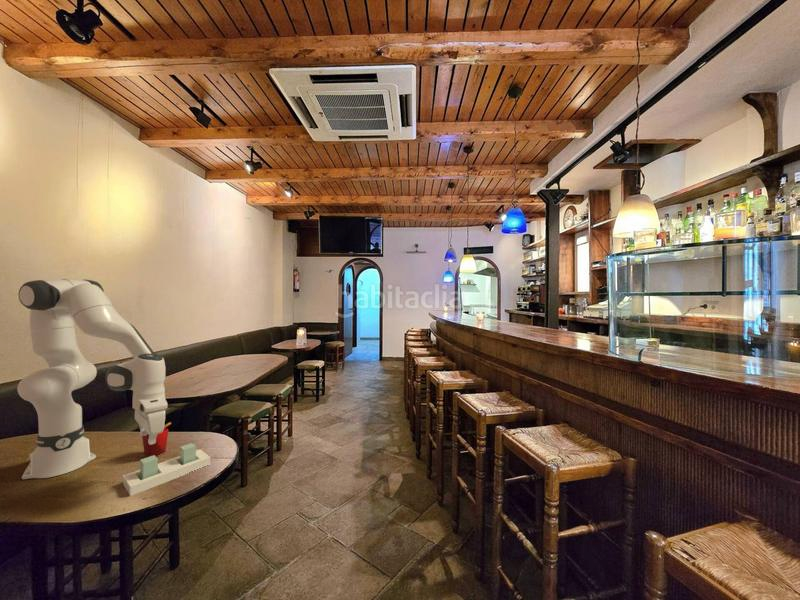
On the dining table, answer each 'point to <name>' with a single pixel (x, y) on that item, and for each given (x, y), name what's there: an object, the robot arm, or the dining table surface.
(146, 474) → the block
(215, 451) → the dining table surface
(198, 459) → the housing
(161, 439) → the french fries
